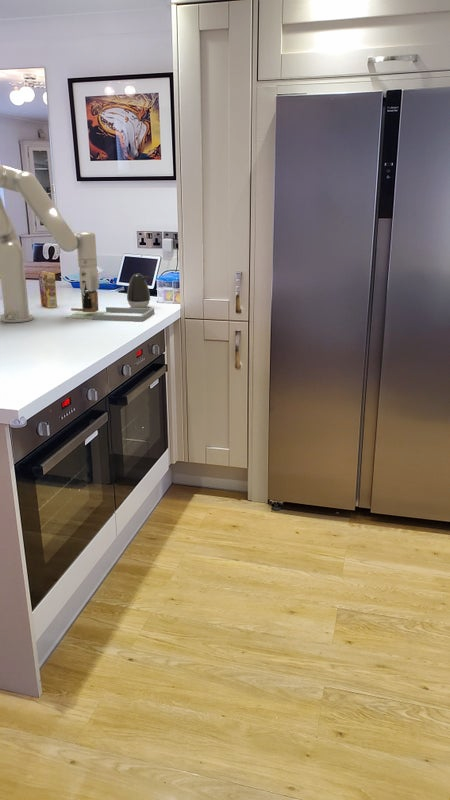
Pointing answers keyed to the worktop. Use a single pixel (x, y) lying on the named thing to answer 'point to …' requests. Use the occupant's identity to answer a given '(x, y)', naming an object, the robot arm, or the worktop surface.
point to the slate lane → (146, 311)
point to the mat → (84, 314)
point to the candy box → (47, 289)
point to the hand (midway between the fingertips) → (90, 306)
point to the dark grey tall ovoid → (138, 292)
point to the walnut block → (93, 303)
